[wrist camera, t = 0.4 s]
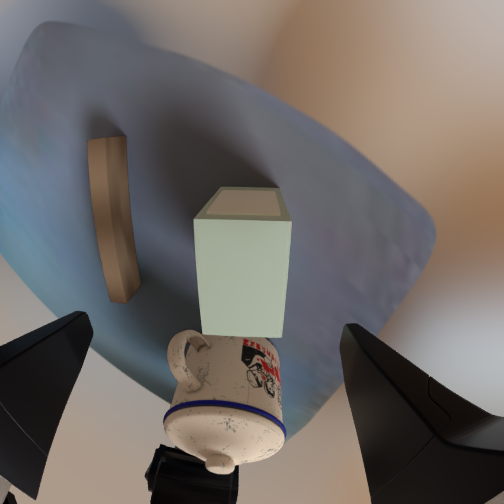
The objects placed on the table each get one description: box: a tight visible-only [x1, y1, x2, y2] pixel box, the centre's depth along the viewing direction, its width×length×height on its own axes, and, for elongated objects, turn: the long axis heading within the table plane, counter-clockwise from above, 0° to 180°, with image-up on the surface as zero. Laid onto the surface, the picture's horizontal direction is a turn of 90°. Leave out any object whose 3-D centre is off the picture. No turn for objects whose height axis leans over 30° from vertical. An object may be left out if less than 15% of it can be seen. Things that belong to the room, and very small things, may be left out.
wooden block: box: [87, 136, 141, 304], centre depth 18 cm, size 12×2×3 cm, turn 179°
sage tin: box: [194, 187, 292, 338], centre depth 16 cm, size 4×6×8 cm, turn 179°
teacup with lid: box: [163, 330, 286, 474], centre depth 19 cm, size 12×9×12 cm
